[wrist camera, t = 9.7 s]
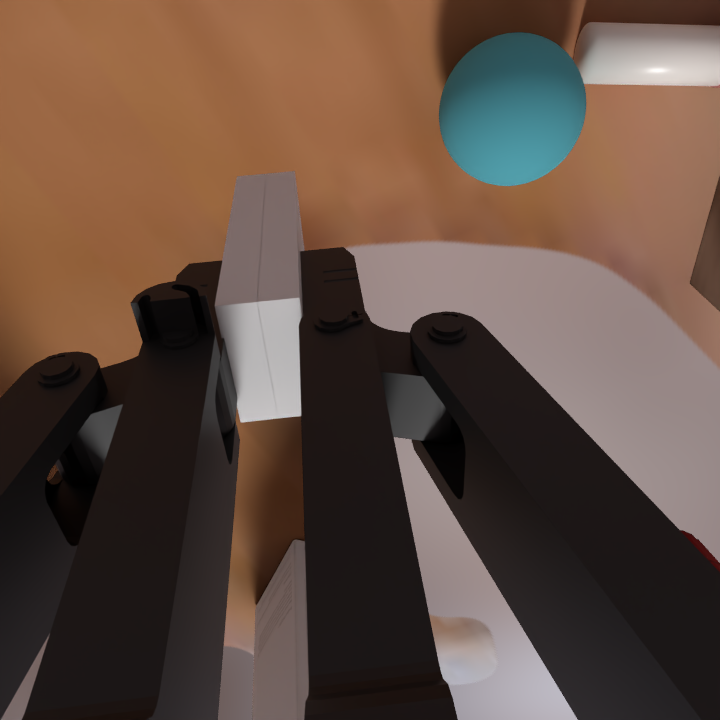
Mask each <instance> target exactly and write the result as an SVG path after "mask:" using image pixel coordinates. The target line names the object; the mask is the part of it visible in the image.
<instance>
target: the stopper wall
mask: <svg viewBox="0 0 720 720" xmlns="http://www.w3.org/2000/svg"><path fill="white" fill-rule="evenodd" d="M690 284H691V285H692V286H693V287H694V288H695V289H696V290H697V291H698V292H699V293H700V294H701V295H703V296H704V297H705V298H706V299H707V300H708V301H709V302H710V303H711V304H712V305H713V306H714V307H715V308H716V309H717V310H719V311H720V178H719V182H718V185H717V189H716V193H715V196H714V200H713V203H712V207H711V210H710V214H709V218H708V221H707V225H706V228H705V232H704V235H703V239H702V242H701V246H700V250H699V253H698V257H697V260H696V264H695V267H694V271H693V275H692V278H691V282H690Z"/></svg>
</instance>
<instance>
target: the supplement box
mask: <svg viewBox="0 0 720 720" xmlns="http://www.w3.org/2000/svg"><path fill="white" fill-rule="evenodd" d="M308 691H309V673H308V638H307V602H306V567H305V541H301V540H293V542H292V543H291V545H290V547H289V549H288V550H287V552H286V554H285V556H284V558H283V559H282V561H281V563H280V565H279V567H278V568H277V570H276V572H275V574H274V575H273V577H272V579H271V581H270V583H269V584H268V586H267V588H266V590H265V591H264V593H263V595H262V597H261V599H260V600H259V602H258V604H257V606H256V610H255V641H254V673H253V706H252V709H253V710H252V720H304V714H305V701H306V699H307V697H308Z"/></svg>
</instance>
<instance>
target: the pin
mask: <svg viewBox="0 0 720 720" xmlns="http://www.w3.org/2000/svg"><path fill="white" fill-rule="evenodd" d="M573 61H574V63H575V64H576V66H577V68H578V69H579V71H580V74H581V77H582V79H583V83H584V84H618V85H674V86H710V87H718V88H720V26H715V25H679V24H642V23H605V22H589V23H587V24H586V25H585V26H584V27H583V29H582V30H581V32H580V34H579V37H578V40H577V43H576V47H575V52H574V60H573Z"/></svg>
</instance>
